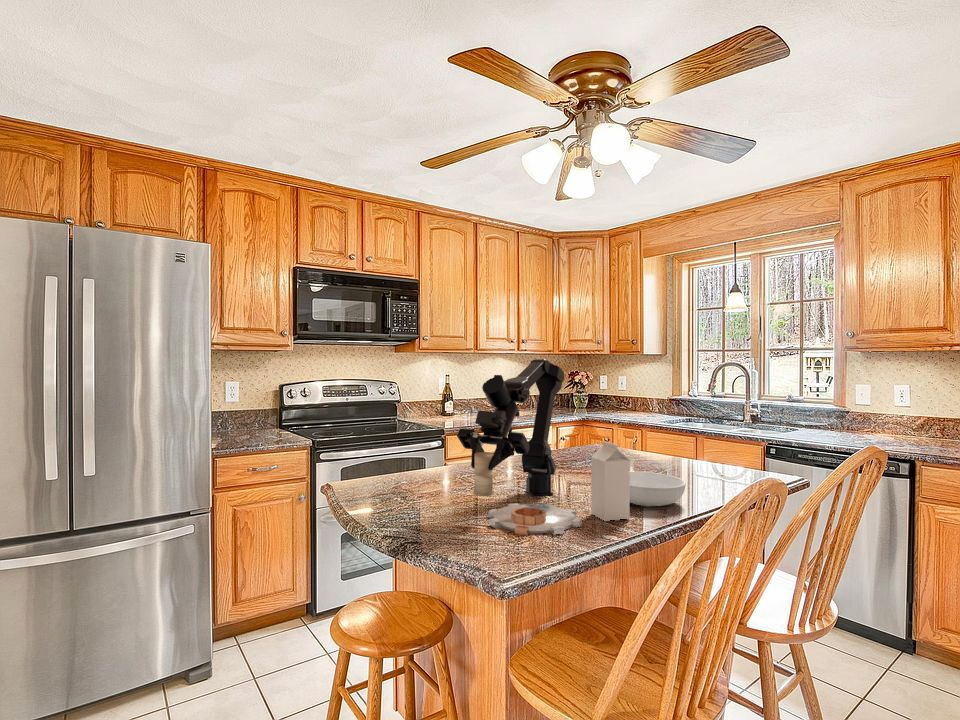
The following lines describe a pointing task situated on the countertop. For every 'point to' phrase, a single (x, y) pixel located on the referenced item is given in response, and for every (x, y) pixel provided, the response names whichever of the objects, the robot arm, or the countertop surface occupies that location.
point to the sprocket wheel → (534, 518)
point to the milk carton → (610, 483)
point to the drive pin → (483, 474)
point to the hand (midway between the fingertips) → (480, 468)
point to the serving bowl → (655, 489)
